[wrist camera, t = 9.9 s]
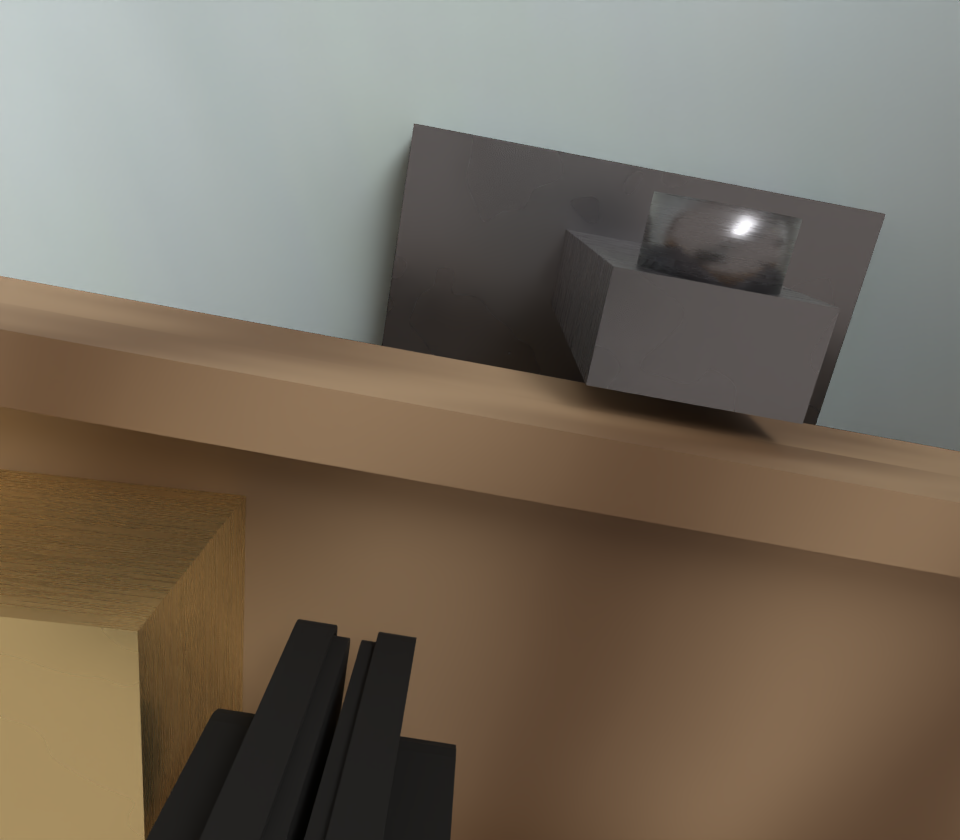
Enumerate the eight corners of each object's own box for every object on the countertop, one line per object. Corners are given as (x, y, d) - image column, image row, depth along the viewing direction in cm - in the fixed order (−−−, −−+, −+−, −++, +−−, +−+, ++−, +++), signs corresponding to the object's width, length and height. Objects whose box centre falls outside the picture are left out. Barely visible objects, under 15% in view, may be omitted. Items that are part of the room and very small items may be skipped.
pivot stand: (859, 211, 17) (1149, 241, 10) (677, 778, 22) (772, 1095, 14) (419, 126, 17) (357, 89, 9) (332, 722, 22) (244, 1018, 14)
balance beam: (1555, 560, 13) (2101, 760, 8) (1283, 958, 15) (1586, 1261, 11) (-298, 221, 12) (-759, 248, 7) (-237, 706, 14) (-547, 929, 10)
